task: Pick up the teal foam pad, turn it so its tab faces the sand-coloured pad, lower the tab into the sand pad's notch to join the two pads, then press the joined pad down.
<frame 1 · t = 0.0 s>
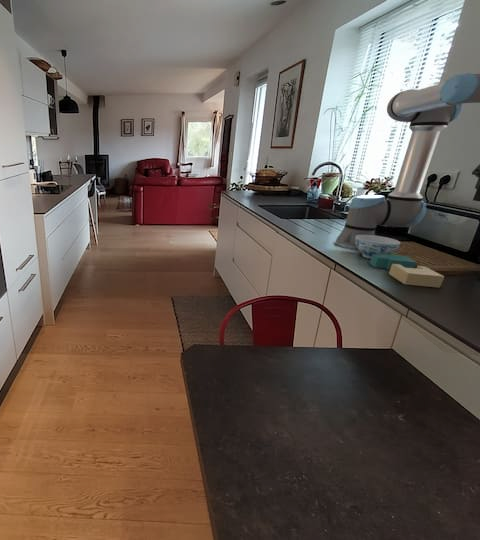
teal pad: (394, 267, 124), on the table
chinaware: (371, 257, 136), on the table
sand pad: (413, 280, 111), on the table
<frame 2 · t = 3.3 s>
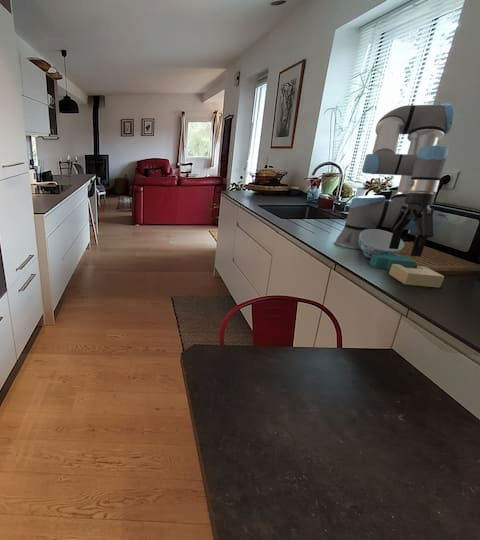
hand: (403, 252, 119), 7 cm above the table, tool pointing down, fingers open, 13 cm apart
teal pad: (394, 267, 124), on the table, touching chinaware
chinaware: (372, 254, 135), point 1 cm above the table, touching gripper, teal pad
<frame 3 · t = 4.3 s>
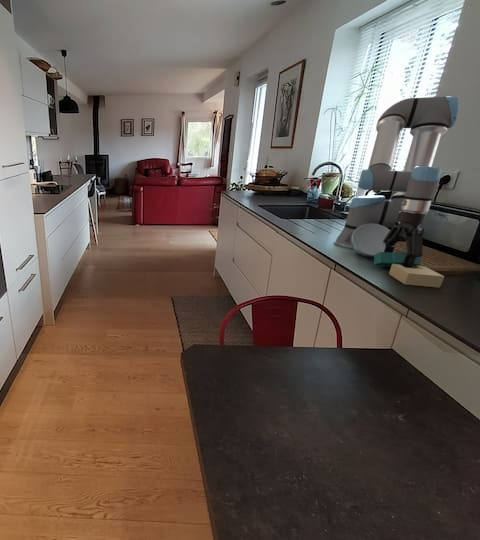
hand: (394, 267, 123), 0 cm above the table, tool pointing down, fingers open, 13 cm apart
teal pad: (400, 265, 120), point 2 cm above the table, tilted 30°, touching gripper
chinaware: (365, 248, 140), point 2 cm above the table, touching gripper
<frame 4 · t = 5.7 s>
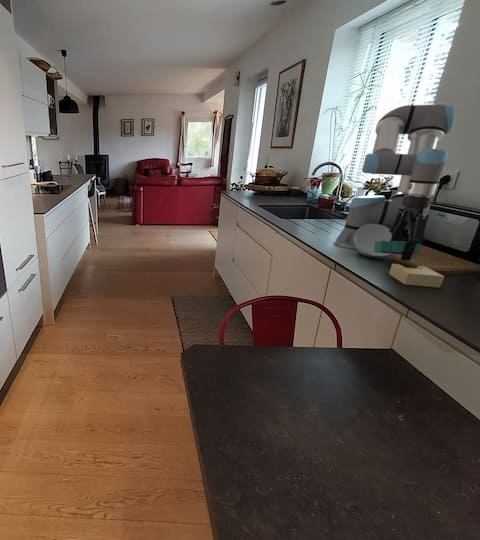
hand: (397, 255, 122), 5 cm above the table, tool pointing down, fingers closed on teal pad, 9 cm apart
teal pad: (399, 253, 121), point 6 cm above the table, tilted 19°, touching gripper
chinaware: (366, 248, 140), point 2 cm above the table
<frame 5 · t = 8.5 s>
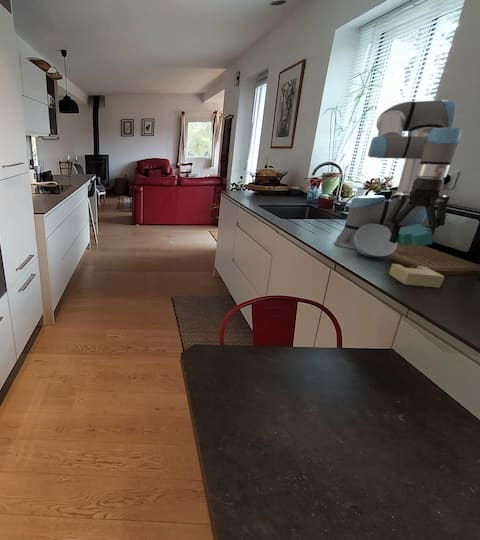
hand: (407, 243, 116), 11 cm above the table, tool pointing down, fingers closed on teal pad, 9 cm apart
teal pad: (411, 240, 115), point 12 cm above the table, tilted 20°, touching gripper
everything else where it was.
when the fingers open (0 cm above the table, at t = 11.7 s): teal pad stays where it is, resting on sand pad.
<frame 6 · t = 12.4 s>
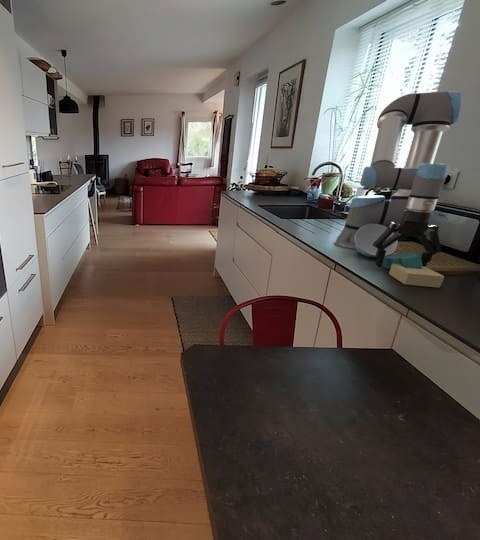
hand: (398, 268, 119), 1 cm above the table, tool pointing down, fingers open, 13 cm apart
teal pad: (402, 266, 118), point 2 cm above the table, tilted 24°, touching sand pad
everything else where it was.
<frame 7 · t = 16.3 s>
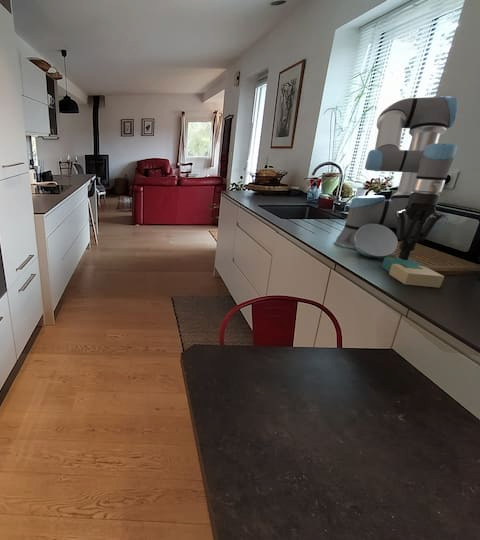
hand: (402, 258, 117), 5 cm above the table, tool pointing down, fingers closed
teal pad: (399, 271, 119), on the table
everything else where it was.
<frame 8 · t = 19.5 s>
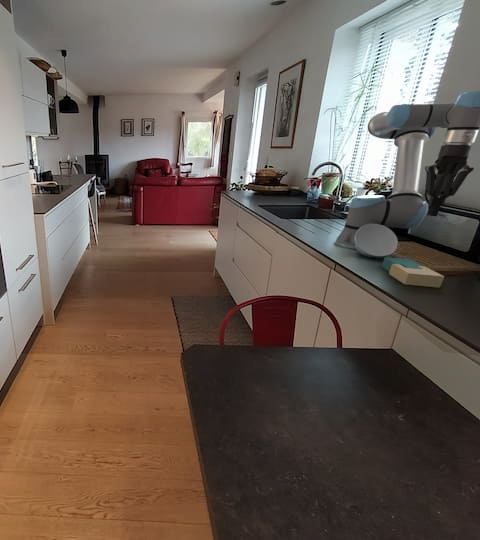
hand: (431, 215, 115), 20 cm above the table, tool pointing down, fingers closed
nothing on the table moved.
at the end: teal pad 0.5 cm from the target spot on the table beside the sand pad, on the table; teal pad tilted 0°; the gripper is holding nothing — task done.
